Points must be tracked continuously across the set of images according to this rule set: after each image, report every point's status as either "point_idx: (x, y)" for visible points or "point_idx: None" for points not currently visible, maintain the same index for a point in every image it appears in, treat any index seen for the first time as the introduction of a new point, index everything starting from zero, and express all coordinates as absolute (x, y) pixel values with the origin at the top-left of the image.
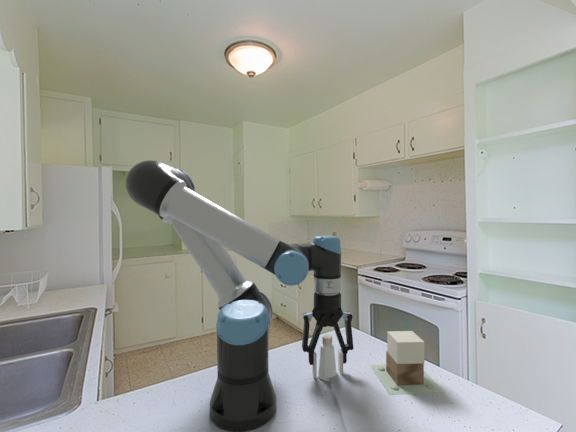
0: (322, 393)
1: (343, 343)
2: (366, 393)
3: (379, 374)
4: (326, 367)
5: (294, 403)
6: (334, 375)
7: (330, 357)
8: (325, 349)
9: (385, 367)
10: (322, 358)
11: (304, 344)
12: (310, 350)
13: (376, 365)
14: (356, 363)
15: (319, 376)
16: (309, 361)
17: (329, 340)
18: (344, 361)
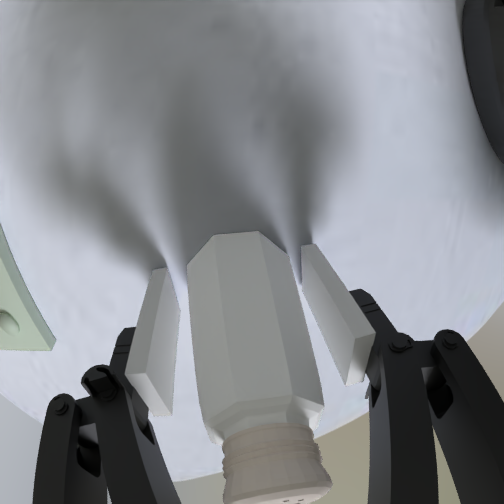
0: (279, 111)
1: (109, 447)
2: (45, 147)
3: (4, 287)
4: (256, 276)
5: (411, 52)
6: (199, 261)
7: (231, 333)
8: (289, 386)
9: (3, 332)
10: (295, 326)
11: (476, 368)
12: (412, 350)
13: (29, 346)
14: None
15: (285, 256)
16: (373, 301)
17: (258, 477)
18: (130, 336)
